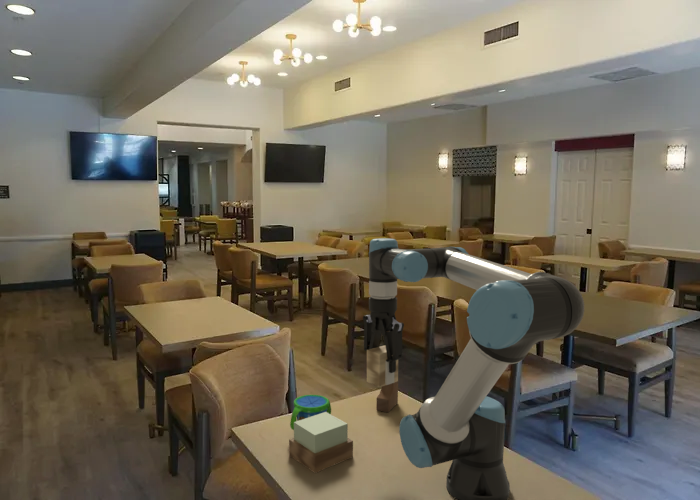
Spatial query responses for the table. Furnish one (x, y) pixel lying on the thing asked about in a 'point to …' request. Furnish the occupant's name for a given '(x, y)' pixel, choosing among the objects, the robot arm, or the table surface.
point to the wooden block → (387, 397)
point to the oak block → (378, 366)
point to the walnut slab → (320, 455)
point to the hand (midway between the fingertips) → (382, 380)
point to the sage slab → (320, 432)
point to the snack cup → (309, 407)
